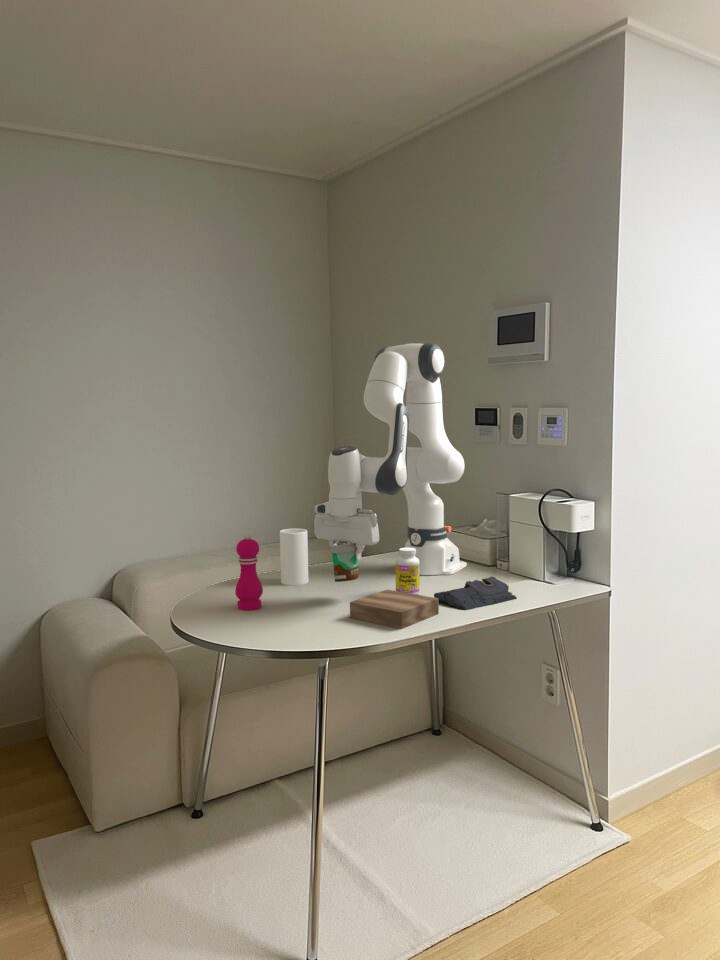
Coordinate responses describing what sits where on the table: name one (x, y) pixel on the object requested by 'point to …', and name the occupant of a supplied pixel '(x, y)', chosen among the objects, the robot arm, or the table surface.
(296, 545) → the cup
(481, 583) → the folded dark cloth
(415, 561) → the supplement bottle
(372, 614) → the walnut base
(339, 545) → the food container
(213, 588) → the table surface
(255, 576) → the pepper mill
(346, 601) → the table surface
